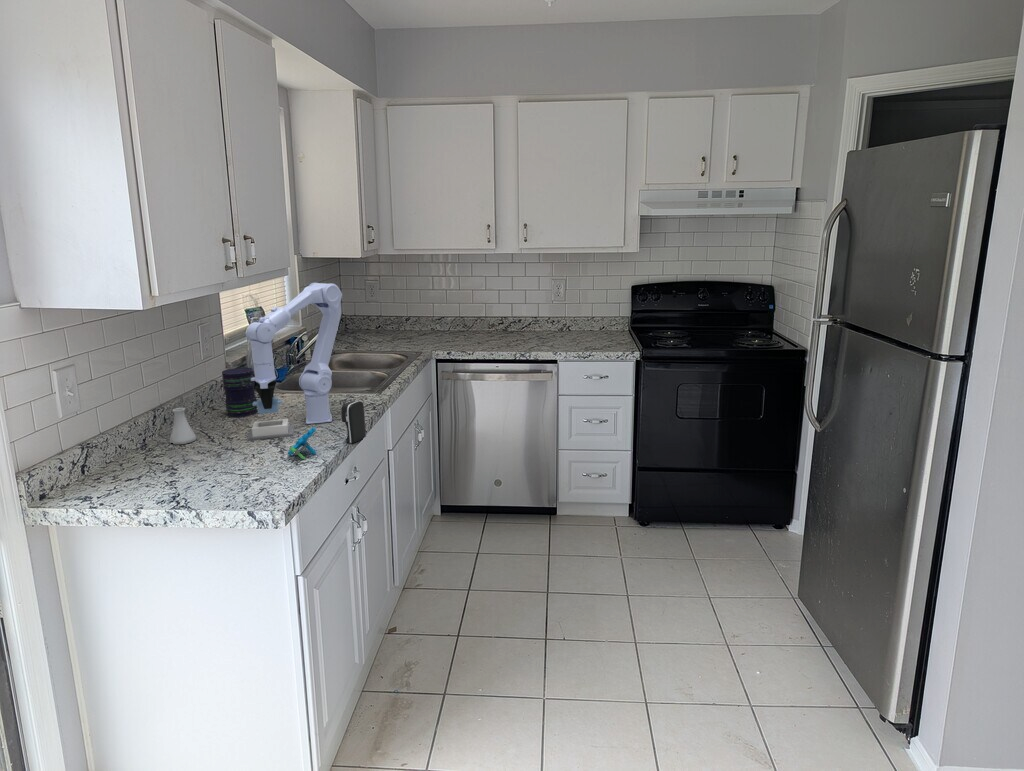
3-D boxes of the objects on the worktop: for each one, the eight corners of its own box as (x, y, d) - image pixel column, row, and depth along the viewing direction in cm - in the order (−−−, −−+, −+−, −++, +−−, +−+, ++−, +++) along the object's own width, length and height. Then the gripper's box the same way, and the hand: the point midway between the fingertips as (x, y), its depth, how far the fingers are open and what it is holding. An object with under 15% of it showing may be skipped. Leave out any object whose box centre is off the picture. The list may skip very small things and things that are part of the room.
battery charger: (356, 436, 207) (352, 398, 205) (366, 437, 206) (363, 399, 203) (341, 443, 201) (338, 404, 199) (352, 444, 200) (349, 405, 197)
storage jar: (220, 417, 233) (214, 373, 230) (238, 409, 242) (233, 367, 239) (246, 418, 231) (241, 374, 227) (264, 410, 240) (259, 367, 236)
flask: (202, 438, 210) (197, 406, 208) (184, 446, 203) (180, 412, 201) (181, 437, 212) (177, 405, 210) (164, 444, 205) (159, 411, 203)
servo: (254, 411, 212) (253, 398, 211) (283, 408, 214) (282, 395, 213) (253, 414, 208) (252, 401, 207) (283, 411, 210) (281, 398, 210)
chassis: (250, 431, 216) (249, 421, 215) (294, 426, 219) (293, 417, 218) (247, 440, 206) (246, 430, 206) (293, 435, 210) (292, 425, 209)
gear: (299, 441, 198) (317, 420, 194) (315, 455, 199) (333, 434, 194) (277, 459, 188) (296, 437, 184) (294, 474, 189) (313, 452, 184)
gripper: (251, 359, 214) (256, 402, 217) (246, 368, 200) (252, 414, 203) (275, 357, 215) (280, 400, 218) (272, 366, 202) (277, 411, 205)
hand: (268, 406), depth 211 cm, fingers closed on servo, 4 cm apart
